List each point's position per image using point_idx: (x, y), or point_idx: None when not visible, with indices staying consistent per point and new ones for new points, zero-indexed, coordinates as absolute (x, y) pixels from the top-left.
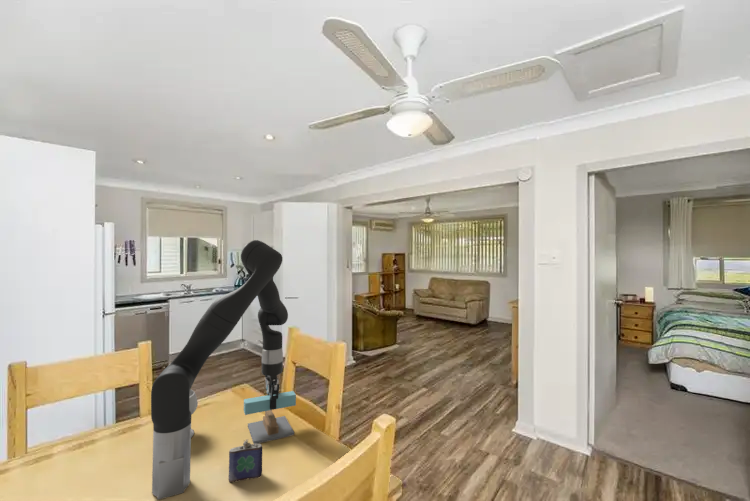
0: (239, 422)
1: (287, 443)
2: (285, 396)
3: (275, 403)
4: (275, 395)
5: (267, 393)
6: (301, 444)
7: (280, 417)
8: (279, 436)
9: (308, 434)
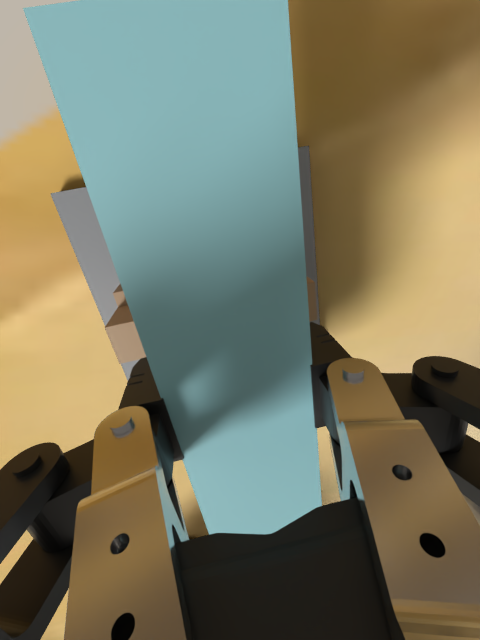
0: (92, 429)
1: (372, 198)
2: (298, 229)
3: (339, 344)
4: (452, 418)
5: (173, 479)
6: (417, 114)
7: (76, 227)
8: (312, 241)
9: (328, 36)
